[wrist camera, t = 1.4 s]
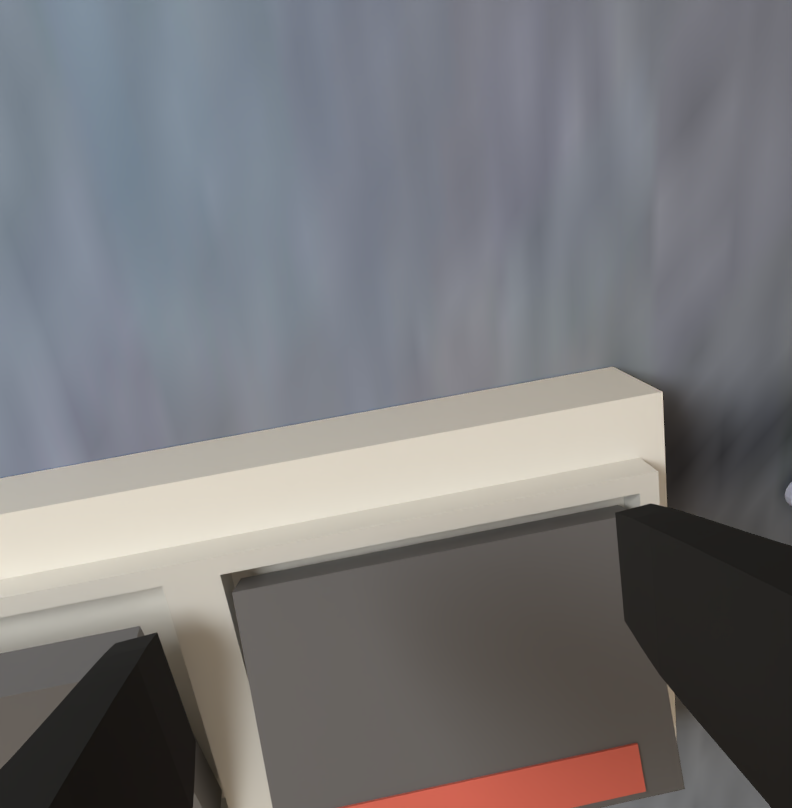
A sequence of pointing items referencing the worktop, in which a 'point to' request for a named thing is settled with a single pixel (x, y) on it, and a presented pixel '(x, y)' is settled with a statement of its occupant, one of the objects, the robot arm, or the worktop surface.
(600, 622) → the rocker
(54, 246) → the worktop surface
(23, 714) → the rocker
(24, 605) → the rocker switch panel
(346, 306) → the worktop surface
